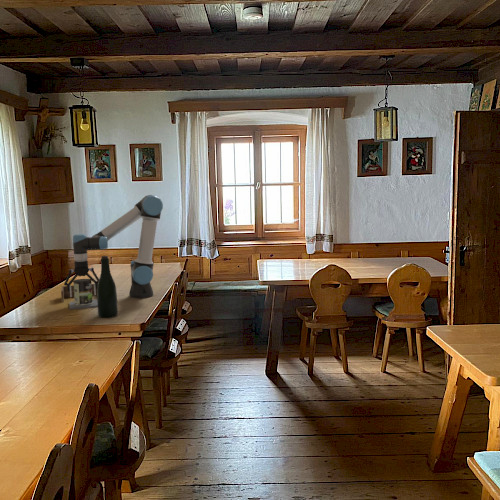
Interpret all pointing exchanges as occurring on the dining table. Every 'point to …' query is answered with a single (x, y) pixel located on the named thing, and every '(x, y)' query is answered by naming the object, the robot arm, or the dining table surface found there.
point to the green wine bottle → (106, 292)
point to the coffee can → (83, 291)
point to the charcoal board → (73, 306)
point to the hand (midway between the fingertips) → (83, 295)
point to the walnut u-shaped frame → (67, 294)
